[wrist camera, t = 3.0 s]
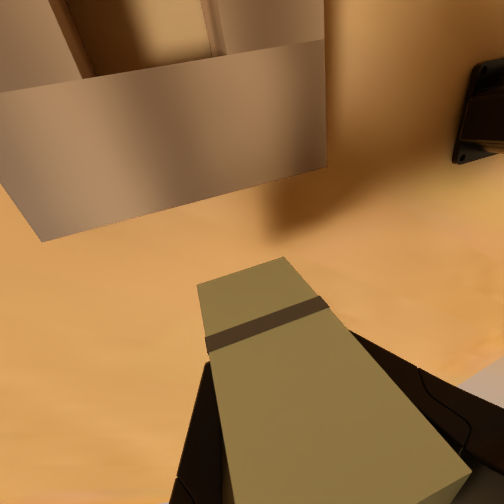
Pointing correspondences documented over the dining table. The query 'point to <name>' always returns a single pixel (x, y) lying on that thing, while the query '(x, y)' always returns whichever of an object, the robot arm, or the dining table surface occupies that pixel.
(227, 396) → the peg
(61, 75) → the board
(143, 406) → the dining table surface
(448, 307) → the dining table surface
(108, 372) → the dining table surface
